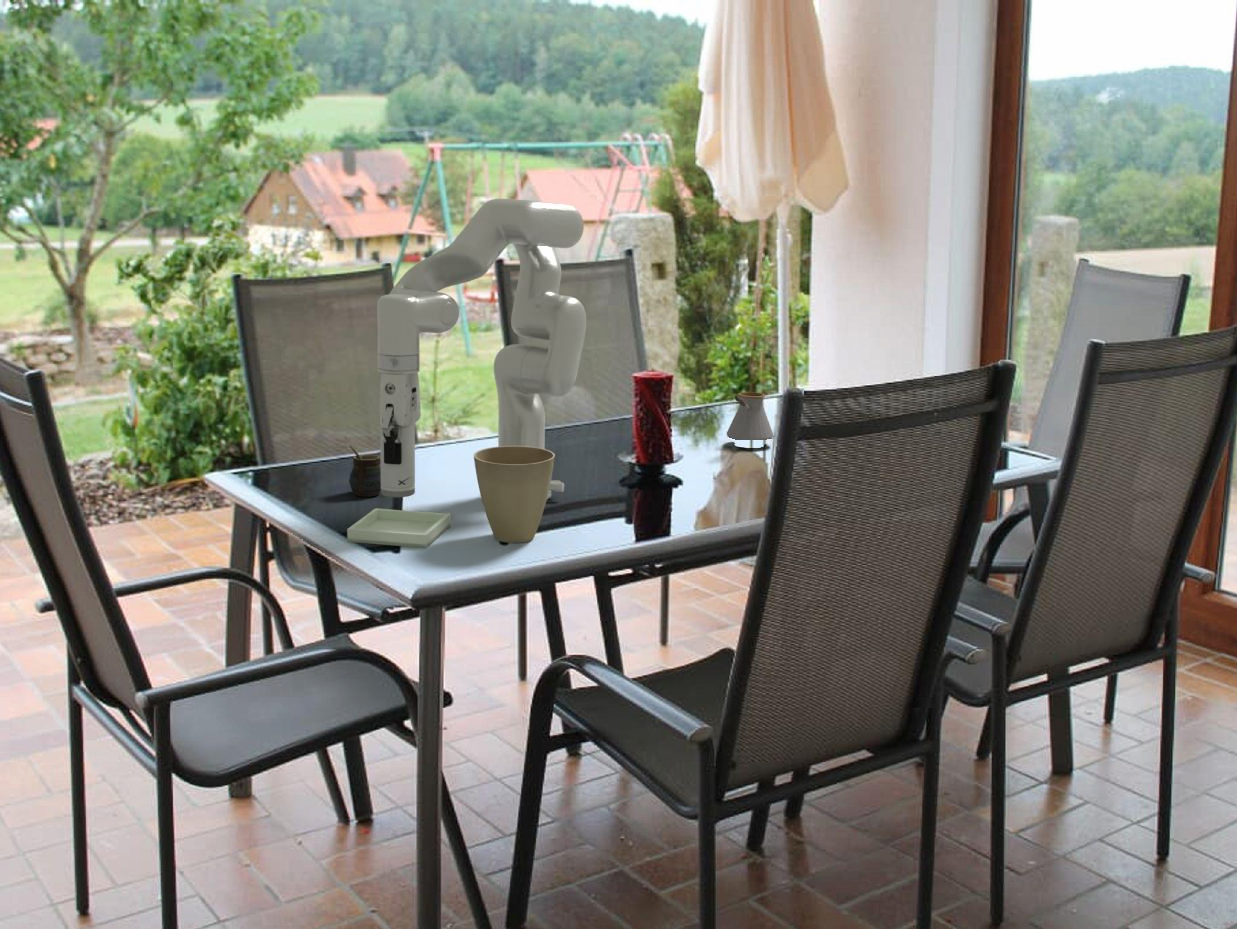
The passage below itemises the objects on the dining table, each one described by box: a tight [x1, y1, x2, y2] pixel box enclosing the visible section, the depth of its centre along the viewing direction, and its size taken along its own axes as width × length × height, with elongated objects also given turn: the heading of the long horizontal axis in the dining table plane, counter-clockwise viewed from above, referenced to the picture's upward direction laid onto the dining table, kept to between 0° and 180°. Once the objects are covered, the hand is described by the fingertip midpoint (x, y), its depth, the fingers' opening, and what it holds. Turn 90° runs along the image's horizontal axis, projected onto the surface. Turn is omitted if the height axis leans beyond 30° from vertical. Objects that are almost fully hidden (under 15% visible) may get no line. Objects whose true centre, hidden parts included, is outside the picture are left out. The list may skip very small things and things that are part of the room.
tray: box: [346, 508, 452, 549], centre depth 260 cm, size 15×15×2 cm
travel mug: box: [379, 387, 416, 498], centre depth 256 cm, size 6×7×20 cm
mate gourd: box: [348, 445, 381, 498], centre depth 287 cm, size 7×8×10 cm
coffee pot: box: [726, 391, 774, 440], centre depth 337 cm, size 21×12×15 cm, turn 159°
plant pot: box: [473, 446, 556, 544], centre depth 258 cm, size 15×15×16 cm
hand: (399, 458), depth 257 cm, fingers closed on travel mug, 6 cm apart
